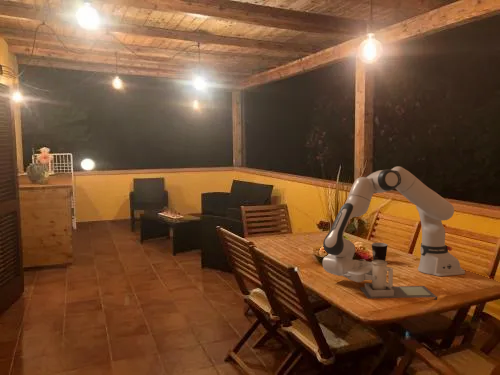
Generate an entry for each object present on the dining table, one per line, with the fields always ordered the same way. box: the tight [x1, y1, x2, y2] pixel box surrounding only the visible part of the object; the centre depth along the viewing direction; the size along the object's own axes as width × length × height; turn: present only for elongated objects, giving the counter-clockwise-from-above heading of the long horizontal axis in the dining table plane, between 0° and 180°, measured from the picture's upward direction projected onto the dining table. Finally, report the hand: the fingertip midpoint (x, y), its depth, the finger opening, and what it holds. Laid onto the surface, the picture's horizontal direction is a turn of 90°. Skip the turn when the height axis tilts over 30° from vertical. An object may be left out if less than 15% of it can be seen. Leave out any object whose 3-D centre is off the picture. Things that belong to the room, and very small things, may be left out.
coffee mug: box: [371, 242, 388, 261], centre depth 242 cm, size 12×9×10 cm
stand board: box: [359, 282, 438, 301], centre depth 190 cm, size 30×14×4 cm, turn 90°
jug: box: [371, 260, 394, 290], centre depth 188 cm, size 9×7×14 cm
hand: (381, 275), depth 189 cm, fingers open, 8 cm apart
